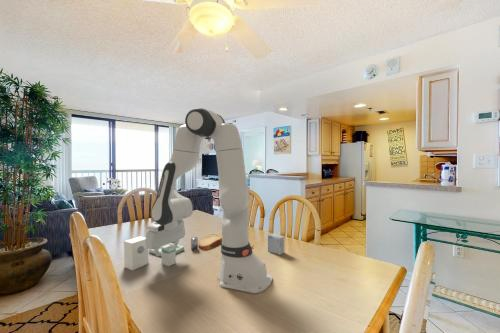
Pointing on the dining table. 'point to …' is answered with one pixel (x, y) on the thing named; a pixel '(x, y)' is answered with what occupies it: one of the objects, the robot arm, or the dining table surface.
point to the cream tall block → (135, 253)
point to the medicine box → (276, 244)
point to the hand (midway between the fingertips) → (166, 252)
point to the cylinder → (194, 243)
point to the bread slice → (210, 242)
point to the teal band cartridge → (168, 254)
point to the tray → (179, 247)
